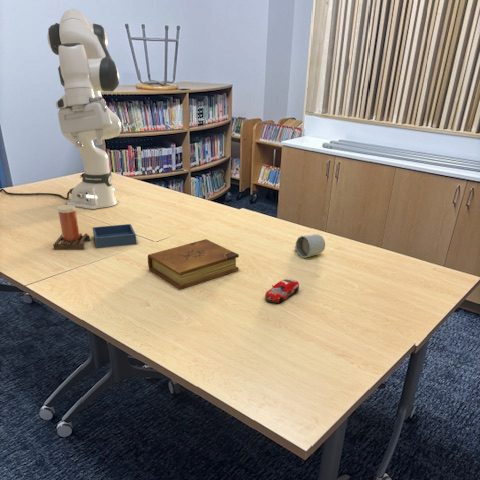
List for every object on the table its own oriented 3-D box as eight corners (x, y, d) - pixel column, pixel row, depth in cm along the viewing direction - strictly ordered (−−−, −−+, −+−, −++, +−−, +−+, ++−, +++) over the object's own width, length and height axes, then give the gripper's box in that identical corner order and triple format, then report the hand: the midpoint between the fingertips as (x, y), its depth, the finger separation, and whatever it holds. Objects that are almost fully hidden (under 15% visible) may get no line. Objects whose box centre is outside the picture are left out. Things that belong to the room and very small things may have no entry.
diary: (205, 253, 170) (204, 238, 167) (238, 270, 158) (238, 254, 155) (148, 269, 157) (147, 253, 154) (180, 289, 145) (179, 271, 142)
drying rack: (54, 249, 171) (52, 242, 170) (61, 239, 180) (60, 233, 179) (83, 249, 172) (82, 242, 170) (90, 239, 180) (89, 233, 179)
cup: (61, 240, 172) (55, 209, 166) (65, 235, 177) (60, 204, 171) (77, 240, 172) (72, 209, 166) (81, 235, 177) (76, 204, 171)
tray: (96, 248, 173) (95, 238, 171) (93, 236, 183) (92, 227, 181) (136, 244, 177) (135, 234, 175) (131, 233, 187) (130, 223, 185)
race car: (276, 306, 136) (277, 293, 134) (261, 300, 139) (262, 288, 137) (302, 290, 145) (303, 278, 143) (287, 285, 148) (288, 273, 146)
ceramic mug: (325, 255, 170) (327, 235, 166) (308, 260, 166) (310, 239, 162) (305, 247, 178) (307, 227, 174) (288, 251, 173) (290, 231, 170)
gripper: (111, 95, 149) (119, 142, 153) (67, 104, 159) (76, 148, 164) (96, 94, 144) (104, 143, 148) (52, 103, 154) (61, 148, 159)
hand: (89, 146), depth 156 cm, fingers open, 8 cm apart
